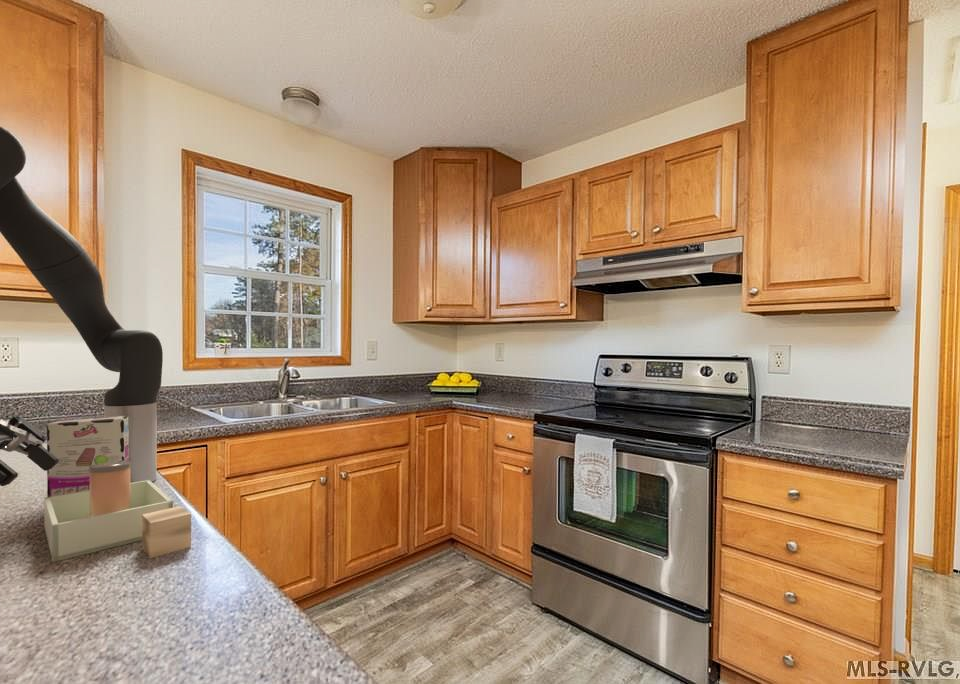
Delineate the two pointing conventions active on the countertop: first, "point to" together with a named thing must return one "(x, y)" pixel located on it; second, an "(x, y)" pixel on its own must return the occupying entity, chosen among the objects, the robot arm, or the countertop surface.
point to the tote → (97, 521)
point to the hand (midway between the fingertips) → (33, 473)
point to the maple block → (166, 531)
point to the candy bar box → (84, 450)
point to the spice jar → (109, 487)
